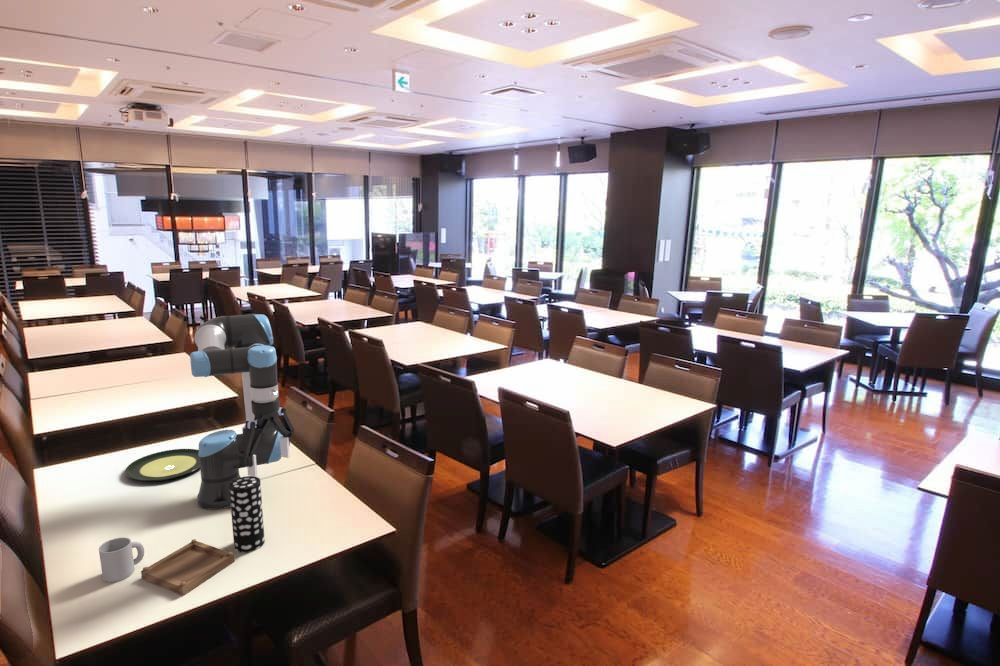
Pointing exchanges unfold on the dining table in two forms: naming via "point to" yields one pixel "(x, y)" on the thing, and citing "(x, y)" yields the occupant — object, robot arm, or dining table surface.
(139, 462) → the plate
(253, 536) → the white-spotted black cylinder
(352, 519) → the dining table surface
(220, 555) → the wooden tray
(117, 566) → the cup
